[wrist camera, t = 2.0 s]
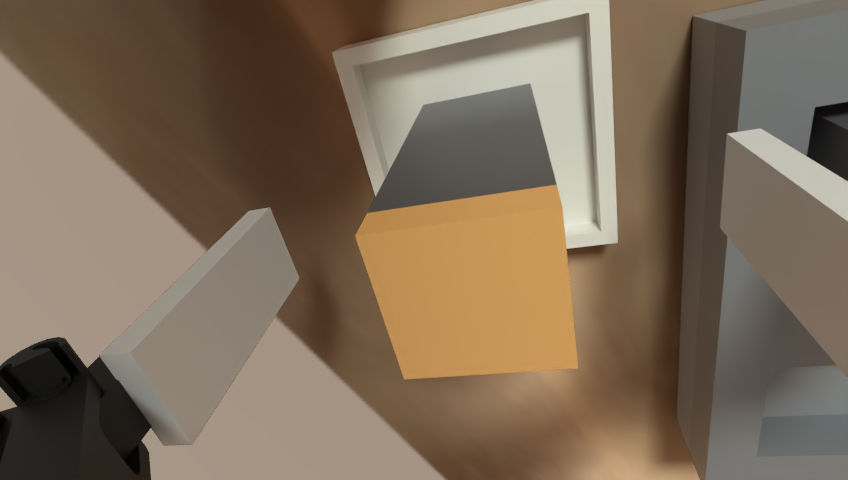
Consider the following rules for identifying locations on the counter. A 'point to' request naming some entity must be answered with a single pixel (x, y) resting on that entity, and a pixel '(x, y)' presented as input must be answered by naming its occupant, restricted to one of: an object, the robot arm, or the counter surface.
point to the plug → (472, 243)
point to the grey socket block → (733, 274)
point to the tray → (493, 70)
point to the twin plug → (830, 138)
